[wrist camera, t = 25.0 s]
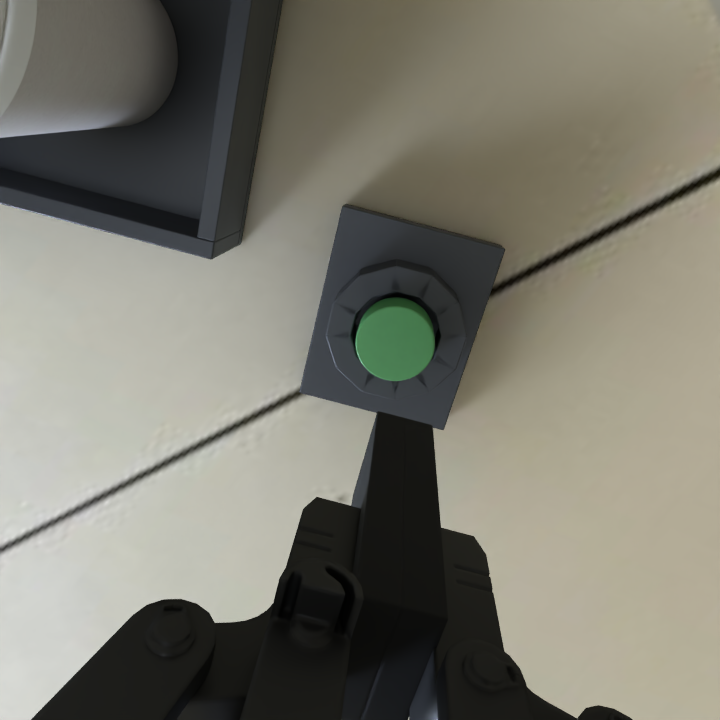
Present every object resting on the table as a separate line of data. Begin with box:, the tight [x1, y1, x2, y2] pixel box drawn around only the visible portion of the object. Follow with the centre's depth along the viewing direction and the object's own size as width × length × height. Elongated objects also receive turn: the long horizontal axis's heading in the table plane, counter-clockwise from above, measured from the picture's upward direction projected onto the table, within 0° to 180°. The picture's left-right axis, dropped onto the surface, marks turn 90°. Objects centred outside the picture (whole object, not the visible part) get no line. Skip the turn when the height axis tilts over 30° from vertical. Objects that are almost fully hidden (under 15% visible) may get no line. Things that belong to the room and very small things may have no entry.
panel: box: [300, 204, 505, 430], centre depth 28 cm, size 10×8×3 cm
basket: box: [0, 0, 283, 259], centre depth 24 cm, size 15×15×5 cm
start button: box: [355, 297, 435, 381], centre depth 26 cm, size 4×4×2 cm
